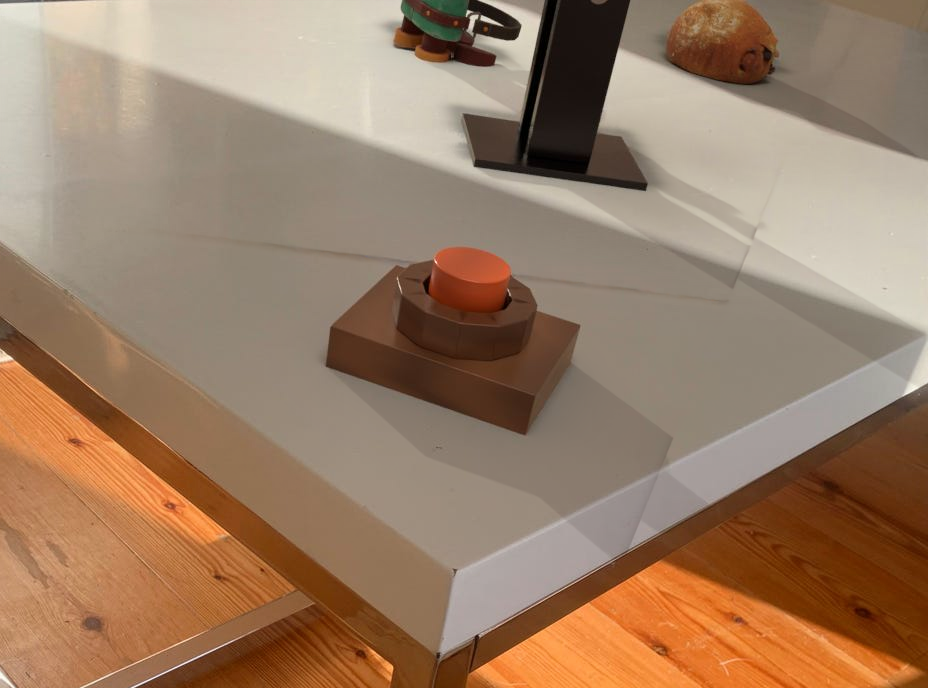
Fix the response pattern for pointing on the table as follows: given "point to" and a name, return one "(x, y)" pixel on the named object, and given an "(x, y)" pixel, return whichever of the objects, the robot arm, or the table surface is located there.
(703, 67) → the bread roll
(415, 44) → the binoculars
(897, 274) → the table surface
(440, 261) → the button
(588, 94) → the bracket
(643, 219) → the table surface
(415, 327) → the button block
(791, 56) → the table surface
